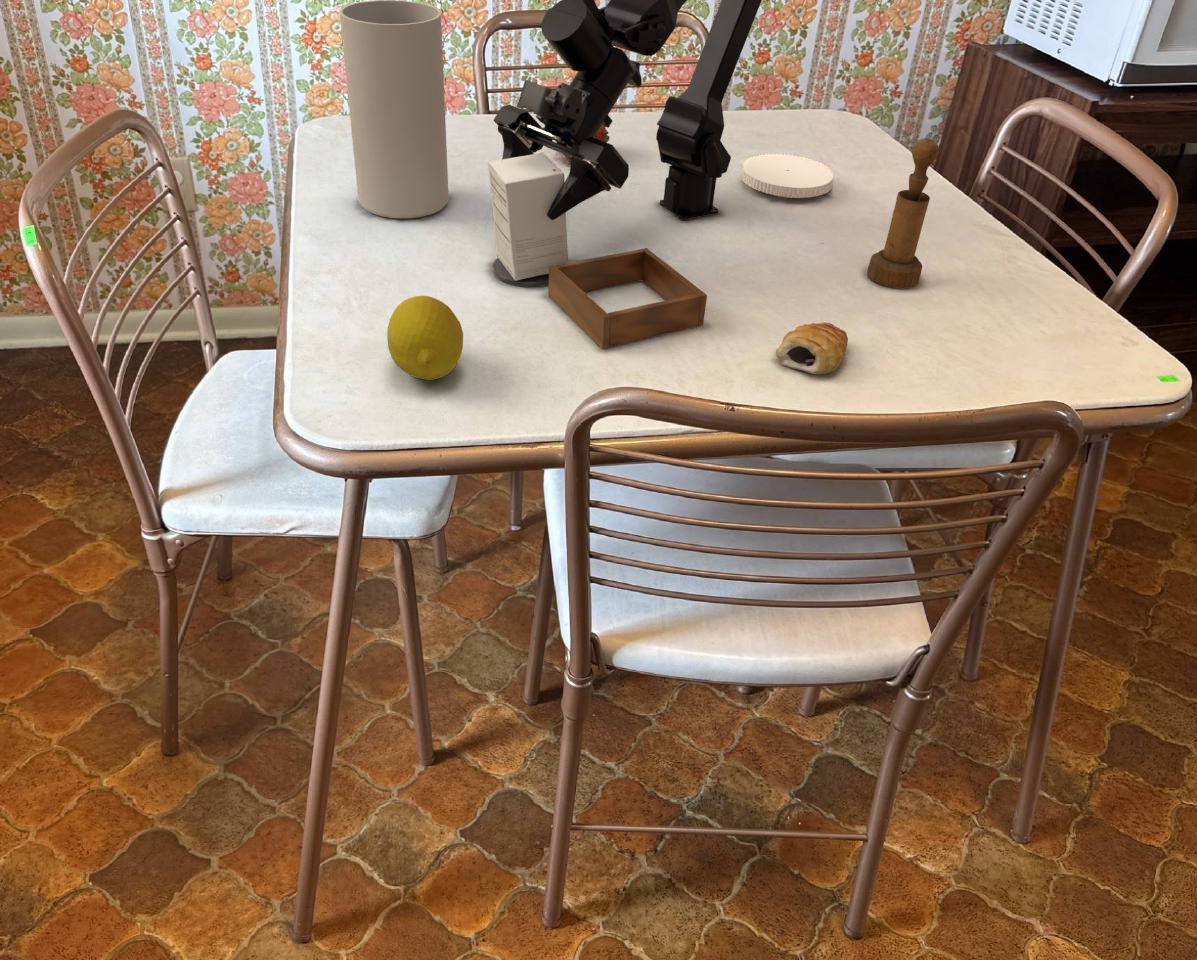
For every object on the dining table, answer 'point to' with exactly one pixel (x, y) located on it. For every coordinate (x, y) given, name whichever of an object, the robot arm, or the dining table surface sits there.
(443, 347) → the lemon
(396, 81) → the cylinder vase
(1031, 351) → the dining table surface
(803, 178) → the plastic lid
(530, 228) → the white packaging box
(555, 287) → the brown square shallow frame
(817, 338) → the pastry
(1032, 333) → the dining table surface
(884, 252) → the mortar and pestle
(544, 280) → the slate coaster
